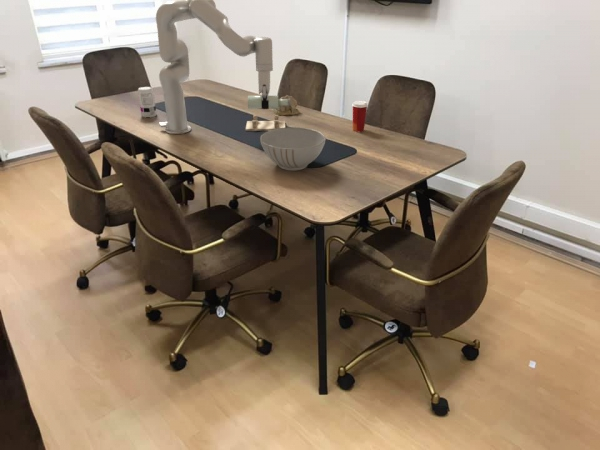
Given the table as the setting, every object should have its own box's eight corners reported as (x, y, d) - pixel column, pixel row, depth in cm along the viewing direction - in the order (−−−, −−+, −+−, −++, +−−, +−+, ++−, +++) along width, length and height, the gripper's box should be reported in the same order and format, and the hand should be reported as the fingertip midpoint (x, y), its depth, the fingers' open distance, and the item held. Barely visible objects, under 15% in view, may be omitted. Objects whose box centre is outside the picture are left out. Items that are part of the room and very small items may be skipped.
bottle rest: (245, 130, 234) (245, 122, 232) (247, 122, 246) (246, 114, 243) (285, 130, 235) (285, 121, 233) (285, 122, 246) (285, 114, 244)
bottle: (248, 110, 215) (247, 97, 212) (248, 106, 220) (248, 94, 217) (290, 110, 216) (290, 97, 213) (290, 106, 221) (290, 94, 218)
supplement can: (138, 116, 255) (133, 89, 247) (148, 113, 261) (143, 85, 254) (150, 118, 252) (146, 90, 244) (160, 114, 259) (156, 87, 251)
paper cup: (367, 129, 237) (369, 101, 230) (363, 133, 231) (365, 105, 224) (353, 127, 240) (355, 99, 233) (348, 131, 234) (349, 103, 227)
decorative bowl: (274, 182, 180) (273, 152, 174) (252, 158, 202) (251, 131, 196) (335, 171, 190) (337, 143, 184) (308, 150, 211) (309, 124, 205)
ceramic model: (294, 109, 269) (294, 91, 264) (302, 114, 260) (302, 96, 255) (271, 111, 265) (271, 94, 260) (278, 117, 256) (278, 98, 251)
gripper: (256, 63, 216) (258, 102, 225) (254, 71, 201) (256, 112, 210) (273, 63, 216) (273, 102, 225) (272, 71, 201) (273, 112, 210)
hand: (265, 106), depth 217 cm, fingers closed on bottle, 6 cm apart
